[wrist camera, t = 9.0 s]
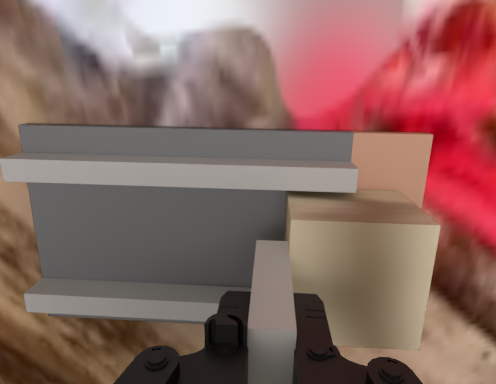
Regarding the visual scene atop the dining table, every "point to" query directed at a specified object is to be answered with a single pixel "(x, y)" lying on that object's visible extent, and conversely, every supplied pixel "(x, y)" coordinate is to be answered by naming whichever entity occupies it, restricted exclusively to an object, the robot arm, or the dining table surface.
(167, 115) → the dining table surface
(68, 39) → the dining table surface
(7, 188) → the dining table surface
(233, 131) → the chute
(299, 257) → the ash block
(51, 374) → the dining table surface
